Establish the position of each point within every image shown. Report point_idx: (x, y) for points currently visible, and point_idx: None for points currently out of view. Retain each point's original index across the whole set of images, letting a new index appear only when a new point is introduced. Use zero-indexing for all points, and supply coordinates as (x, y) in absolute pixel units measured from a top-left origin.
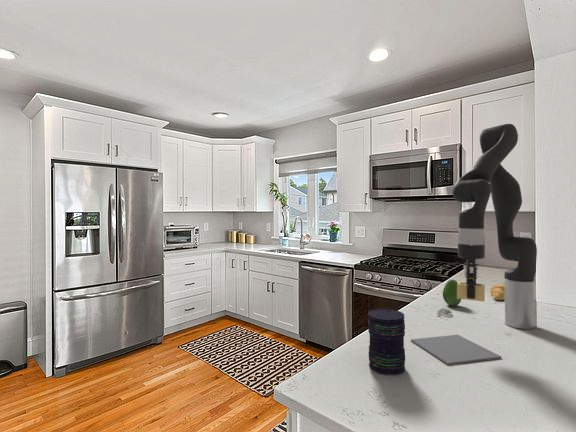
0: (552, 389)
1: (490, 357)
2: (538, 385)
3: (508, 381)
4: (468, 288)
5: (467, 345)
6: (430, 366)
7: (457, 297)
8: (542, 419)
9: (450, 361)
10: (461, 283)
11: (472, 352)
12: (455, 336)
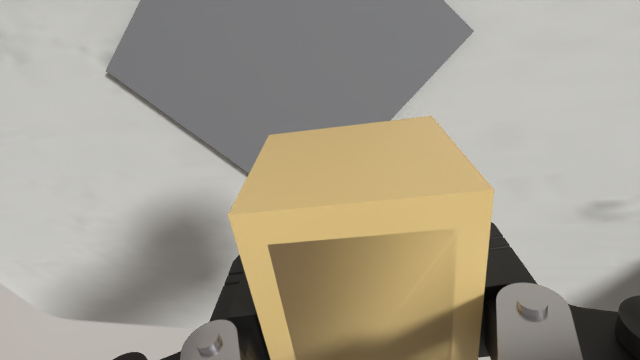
0: (185, 304)
1: None
2: (183, 284)
3: (149, 232)
4: (226, 311)
5: (341, 100)
6: (47, 16)
7: (270, 142)
8: (32, 285)
9: (128, 77)
10: (336, 255)
11: (274, 130)
12: (437, 27)
